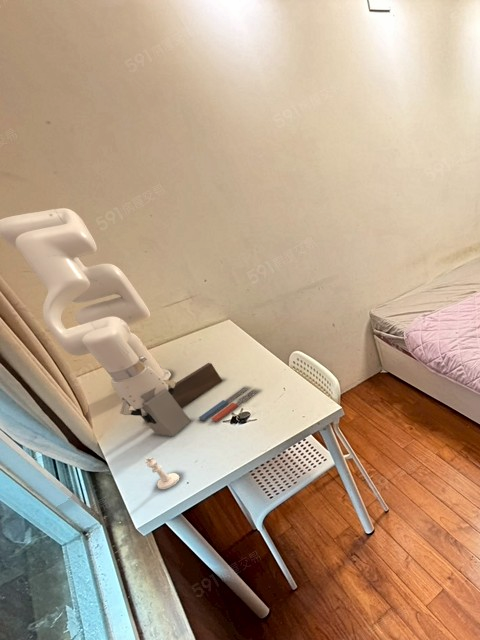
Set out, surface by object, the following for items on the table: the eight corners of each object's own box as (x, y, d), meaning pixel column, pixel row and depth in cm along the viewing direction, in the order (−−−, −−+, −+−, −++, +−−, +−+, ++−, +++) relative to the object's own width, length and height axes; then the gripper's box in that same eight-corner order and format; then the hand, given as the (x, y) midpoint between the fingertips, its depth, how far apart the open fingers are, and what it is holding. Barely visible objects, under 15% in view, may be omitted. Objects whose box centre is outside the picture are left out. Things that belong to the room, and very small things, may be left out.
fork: (212, 420, 125) (210, 418, 124) (252, 390, 137) (251, 388, 136) (217, 422, 124) (216, 420, 124) (258, 392, 136) (257, 389, 135)
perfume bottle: (173, 436, 120) (137, 392, 109) (155, 433, 121) (118, 390, 110) (191, 421, 125) (158, 378, 114) (174, 418, 126) (140, 375, 115)
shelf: (147, 421, 126) (131, 403, 121) (213, 378, 143) (201, 360, 138) (156, 425, 124) (141, 406, 120) (222, 380, 142) (211, 363, 137)
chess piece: (154, 486, 105) (130, 462, 99) (171, 472, 109) (150, 448, 102) (166, 491, 103) (143, 467, 97) (183, 477, 107) (162, 453, 101)
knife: (200, 419, 126) (198, 417, 125) (244, 388, 138) (242, 385, 137) (204, 421, 125) (203, 419, 124) (248, 389, 137) (247, 387, 137)
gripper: (149, 350, 116) (182, 395, 127) (84, 385, 104) (126, 431, 115) (166, 355, 114) (197, 400, 125) (101, 391, 101) (143, 437, 112)
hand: (163, 414), depth 120 cm, fingers closed on perfume bottle, 6 cm apart
